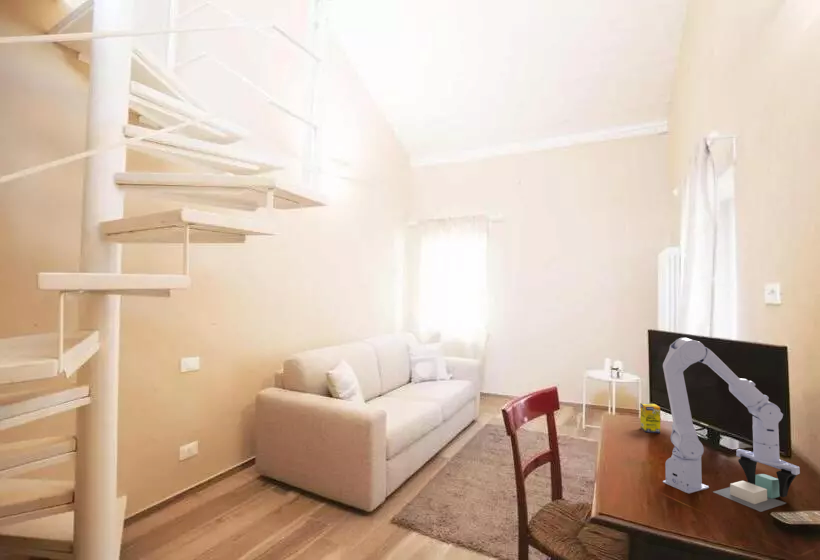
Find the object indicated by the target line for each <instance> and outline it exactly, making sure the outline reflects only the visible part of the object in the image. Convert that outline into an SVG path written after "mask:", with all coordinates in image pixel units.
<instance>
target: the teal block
mask: <svg viewBox="0 0 820 560" xmlns="http://www.w3.org/2000/svg"><path fill="white" fill-rule="evenodd" d="M755 485H757V486H759V487H762V488H765V489H767V497H769V498H771V499H772V498H774V499H776V498H780V494H779V481H778V477H773V476H772V475H769V474H765V473H758V474H756V473H755Z"/></svg>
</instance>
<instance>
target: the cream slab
mask: <svg viewBox="0 0 820 560" xmlns="http://www.w3.org/2000/svg"><path fill="white" fill-rule="evenodd" d="M729 487H730V495H733V496H735V497H738V498H740V499H743V500H745V501H748V502H750V503H753V504H757V503H760V502H763V501H766V500H767V489H765V488H762V487H759V486H757V485H754V484H751V483H748V481H745V480H739V481H735V482H731V483H729Z"/></svg>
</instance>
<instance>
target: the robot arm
mask: <svg viewBox="0 0 820 560" xmlns="http://www.w3.org/2000/svg"><path fill="white" fill-rule="evenodd" d="M696 363H701V364H704V365H706V366H708V368H710V369H711V370H712V371H713V372H714V373H716V374H717V376H719V378H721V379H722V380H724V382H726V383H727V384H728V390H729V392H730V393H731V394H732V395H733V396H734V397H735V398H736V399H737V400H738V401H739V402H740V403H741V404H743V405H744V406H745V407H746V408H747V411H748V413H749V414H751V415H752V446H753V447H752V448H753V450H752V451H750V450H746V449H741V448H738V449H736V452H735V453H736V457H738V458H739V459H737V461H738V463H739V465H740V466H741V468H742V470H743V472H744V474H745V477H746V479H747V482H748V483H751V484H754V485H755V475H756V471H757V470H756V469H757V464H758V463H760V464H762V465H766V466H769V467H772V468H775V469H778V470H777V471H776V474H775V475H776V476H777V477H776V478H777V479H778V481H779V494H780V497H781V498H786V497H788V492H789V490H790V487H791V485H792V482H793V481H794V480H795V479H796V477H797V475H800V474H801V471H800V466H798V465H795V464H793V463H790V462H787V461H785V460H783V459H780V435H779V432H780V429H779V423H780V422H781V421H782V419H783V416H784V413H782V412H781V409H780V407H779V406H778V405H777V404H775V403H773V402H771V401H769V399H770V398H769V396H768V395H766V394H763V393H762V391H760V390H759V389H758V388H757V387H756V383H755V382H754V381H752V380H748V379H747V378H740V377H738V375H736V373H734V372H733V371H732V369H731V368H729V366H728V365H727V364H725V363H724V362H723V360H722V359H720V358H719V356H717V355H716V354H715V353H714V352H713V351H712V350H711V349H710V348H708V347H706V346H705V345H704V344H703V343H702V342H701V341H698V340H694V339H691V338H688V337H680V338H676V339H675V341H673V342H672V343H670V345H669V349H668V352H667V353H666V356H665V359H664V360H663V363H662V369H663V373H664V374H663V375H664V381H665V385H666V390H667V395H668V400H669V406H670V414H671V417H672V424H671V433H670V442H671V443H672V445H673V449H672V454H671V457H669V458H667V459H666V461H665V465H664V466H665V467H664V468H665V480H662V483H663V484H666V485H668V486H671V487H673V488H675V489H678V490H680V491H682V492H684V493H687V494H692V493H696V492H700V491H703V490H707V489H709V488H710V487H709V485H706V484H705V483H702V482H703V479H702V456H703V455H704V452H705V449H704V445H703V443H702V442H701V441H700V439H699V437H698V433H697V430H696V428H695V426H694V424H693V418H692V412H691V407H690V402H689V401H690V400H689V396H688V392H687V387H686V386H687V385H686V381H685V375H684V371H685V370H687V368H689V367H690V366H691V365H694V364H696ZM780 497H779V498H780Z"/></svg>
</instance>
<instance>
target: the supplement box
mask: <svg viewBox="0 0 820 560" xmlns="http://www.w3.org/2000/svg"><path fill="white" fill-rule="evenodd" d="M639 406H640V409H639V410H640V415H639V416H640V420H639V421H640V429H641V430H642V431H643V432H645V433H650V434H651V433H653V434H661V407H660V406H659V405H657V404H655V403H642V402H641V403H640V405H639Z"/></svg>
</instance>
